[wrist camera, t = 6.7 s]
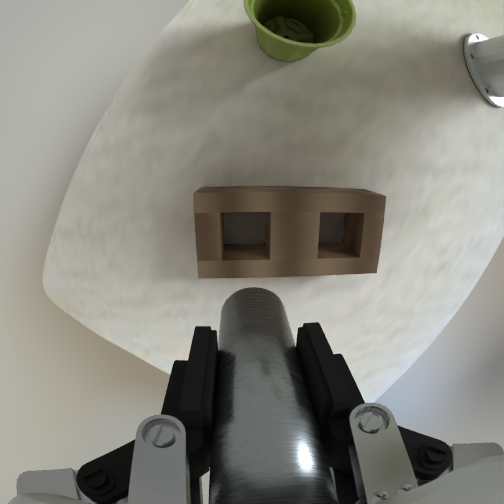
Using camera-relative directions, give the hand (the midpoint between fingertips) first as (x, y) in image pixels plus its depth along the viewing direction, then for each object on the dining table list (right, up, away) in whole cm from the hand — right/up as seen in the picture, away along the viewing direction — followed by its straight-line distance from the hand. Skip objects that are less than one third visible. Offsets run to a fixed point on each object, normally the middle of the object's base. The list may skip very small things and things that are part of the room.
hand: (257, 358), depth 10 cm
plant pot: (+3, +27, +14) cm, 30 cm away
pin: (0, +1, +3) cm, 3 cm away
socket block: (+4, +7, +20) cm, 22 cm away
